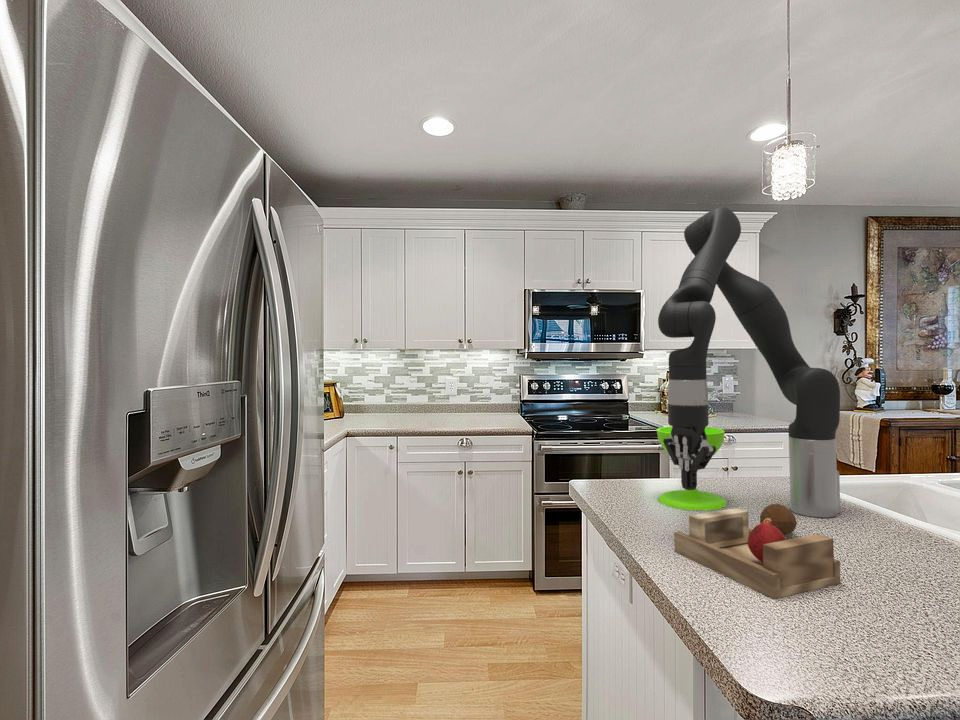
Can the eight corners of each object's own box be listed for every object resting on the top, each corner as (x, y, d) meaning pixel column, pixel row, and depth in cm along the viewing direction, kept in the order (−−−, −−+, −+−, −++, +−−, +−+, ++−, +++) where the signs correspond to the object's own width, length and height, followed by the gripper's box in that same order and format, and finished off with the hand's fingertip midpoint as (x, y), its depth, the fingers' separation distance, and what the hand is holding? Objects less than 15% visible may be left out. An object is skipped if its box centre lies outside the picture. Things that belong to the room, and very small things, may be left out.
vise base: (732, 540, 106) (731, 504, 106) (840, 583, 85) (839, 538, 85) (674, 551, 101) (673, 513, 101) (774, 598, 81) (772, 551, 81)
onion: (754, 571, 88) (753, 522, 88) (744, 558, 93) (743, 512, 93) (793, 573, 87) (791, 524, 87) (780, 560, 92) (779, 513, 92)
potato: (793, 529, 112) (792, 499, 112) (800, 544, 103) (800, 512, 103) (758, 526, 115) (757, 497, 115) (762, 541, 106) (761, 509, 106)
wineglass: (697, 514, 124) (695, 436, 124) (644, 499, 138) (643, 429, 138) (740, 503, 132) (738, 430, 132) (686, 490, 146) (684, 424, 146)
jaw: (738, 538, 103) (737, 508, 103) (749, 542, 101) (748, 511, 101) (689, 546, 99) (688, 515, 99) (699, 551, 97) (698, 519, 97)
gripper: (728, 403, 102) (729, 495, 102) (680, 399, 114) (681, 480, 114) (696, 405, 99) (697, 499, 99) (651, 400, 112) (652, 483, 112)
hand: (689, 488), depth 107 cm, fingers closed
